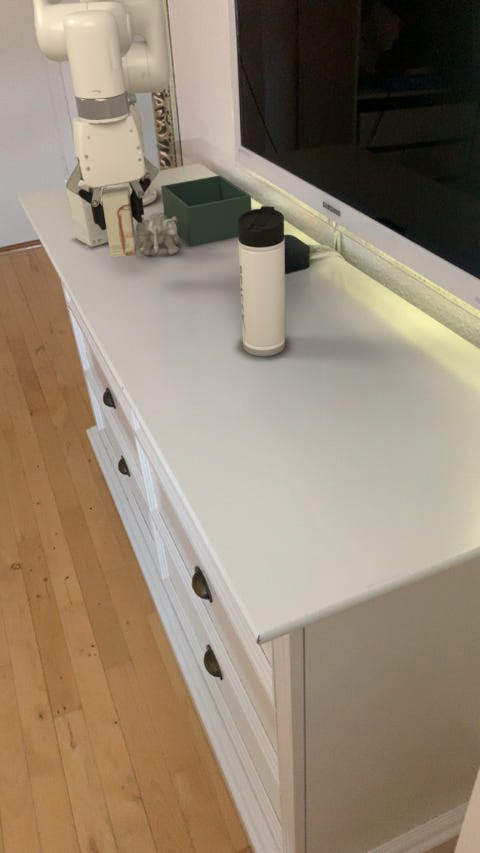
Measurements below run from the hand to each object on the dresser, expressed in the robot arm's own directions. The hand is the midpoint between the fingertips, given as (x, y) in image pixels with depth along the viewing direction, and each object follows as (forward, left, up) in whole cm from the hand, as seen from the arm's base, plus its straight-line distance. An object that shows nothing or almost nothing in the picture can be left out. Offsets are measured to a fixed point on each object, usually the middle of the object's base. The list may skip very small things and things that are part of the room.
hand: (119, 222), depth 116 cm
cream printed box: (0, 0, -5) cm, 5 cm away
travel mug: (+30, +12, -12) cm, 34 cm away
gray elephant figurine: (-10, +10, -12) cm, 19 cm away
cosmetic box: (-24, 0, -12) cm, 27 cm away
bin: (-19, +23, -12) cm, 32 cm away
